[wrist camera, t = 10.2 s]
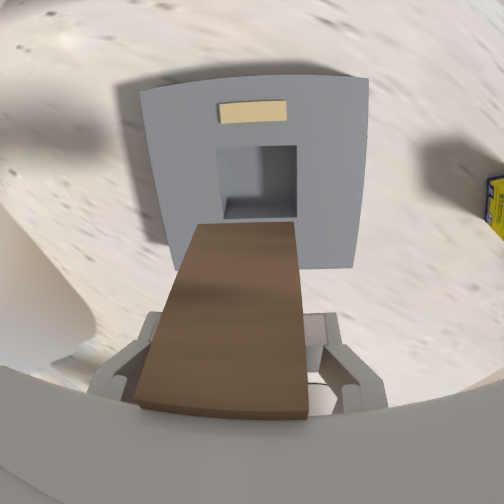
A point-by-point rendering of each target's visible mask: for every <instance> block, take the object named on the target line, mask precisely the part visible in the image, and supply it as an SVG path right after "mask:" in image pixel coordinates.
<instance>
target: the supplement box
mask: <svg viewBox="0 0 504 504" xmlns="http://www.w3.org/2000/svg"><path fill="white" fill-rule="evenodd" d="M485 222H486V223H487V224H488V225H489V226H490V227H491V228H492V229H493V230H494V231H495V232H496V233H497V234H498V235H499V236H500V238H501V239H502V240H503V241H504V176H500V177H495V178H491V179H487V202H486V212H485Z"/></svg>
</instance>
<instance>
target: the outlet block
mask: <svg viewBox="0 0 504 504" xmlns="http://www.w3.org/2000/svg"><path fill="white" fill-rule="evenodd" d="M139 94H140V102H141V108H142V115H143V121H144V128H145V134H146V140H147V145H148V151H149V156H150V162H151V167H152V172H153V177H154V182H155V187H156V192H157V196H158V201H159V206H160V210H161V215H162V219H163V223H164V227H165V232H166V236H167V240H168V244H169V248H170V252H171V256H172V260H173V264H174V267H175V271H179V268H180V266H181V263H182V261H183V258H184V256H185V254H186V251H187V249H188V246H189V244H190V241H191V239H192V237H193V234H194V232H195V230H196V227H197V225H198V224H214V223H246V222H294V228H295V237H296V246H297V255H298V265H299V269H338V268H353V262H354V256H355V250H356V243H357V236H358V229H359V221H360V213H361V205H362V195H363V186H364V175H365V162H366V148H367V130H368V97H369V79H368V78H360V77H349V76H334V75H308V74H279V75H253V76H238V77H227V78H217V79H208V80H200V81H193V82H186V83H179V84H173V85H168V86H162V87H157V88H152V89H147V90H143V91H139Z"/></svg>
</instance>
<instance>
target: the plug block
mask: <svg viewBox="0 0 504 504" xmlns="http://www.w3.org/2000/svg"><path fill="white" fill-rule="evenodd" d="M133 399H134V400H135V402H136V403H137V404H138V405H139V406H140V408H142V409H147V410H153V411H159V412H166V413H173V414H181V415H189V416H198V417H209V418H222V419H239V420H307V417H308V413H309V396H308V377H307V361H306V346H305V332H304V320H303V308H302V296H301V285H300V275H299V265H298V255H297V246H296V237H295V228H294V222H246V223H214V224H198V225H197V227H196V230H195V232H194V234H193V237H192V239H191V241H190V244H189V246H188V249H187V251H186V254H185V256H184V258H183V261H182V263H181V266H180V268H179V271H178V273H177V276H176V279H175V281H174V284H173V286H172V289H171V291H170V294H169V297H168V299H167V302H166V305H165V307H164V310H163V313H162V315H161V318H160V321H159V323H158V326H157V329H156V332H155V335H154V337H153V340H152V343H151V346H150V349H149V352H148V355H147V358H146V360H145V363H144V366H143V369H142V372H141V375H140V378H139V382H138V385H137V388H136V391H135V394H134V397H133Z"/></svg>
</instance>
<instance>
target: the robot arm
mask: <svg viewBox="0 0 504 504" xmlns="http://www.w3.org/2000/svg"><path fill="white" fill-rule="evenodd" d="M162 313H163V312H152V311H150V312H149V313H148V314H147V317H146V319H145V322H144V324H143V326H142V329H141V331H140V334H139V336H138V339H137V340H134V341H132V342H131V343H130V344H128V345H127V346H126V347H125V348H123V349H122V350H121V351H120V352H118V353H117V354H116V355H114V356H113V357H112V358H111V359H109V360H108V361H107V362H106V363H104V364H103V365H102V366H101V367H99V368H98V369H97V370H96V371H95V374H94V376H93V379H92V381H91V383H90V386H89V388H88V391H87V393H84V392H80V391H76V390H73V389H70V388H66V387H63V386H60V385H56V384H53V383H50V382H47V381H44V380H41V379H38V378H35V377H32V376H30V375H27V374H24V373H21V372H19V371H16V370H14V369H11V368H8V367H6V366H0V504H504V379H503V380H498V381H496V382H493V383H490V384H487V385H484V386H480V387H477V388H474V389H471V390H467V391H464V392H460V393H456V394H453V395H449V396H445V397H441V398H436V399H432V400H428V401H423V402H418V403H413V404H408V405H402V406H397V407H390V408H388V403H387V398H386V393H385V389H384V384H383V380H382V379H381V378H380V377H379V376H378V375H377V374H376V373H375V372H374V371H373V370H372V369H370V368H369V367H368V366H367V365H366V364H365V363H364V362H363V361H362V360H361V359H360V358H359V357H358V356H357V355H356V354H355V353H354V352H353V351H352V350H351V349H350V348H349V347H348V346H347V345H346V344H342V340H341V335H340V330H339V324H338V319H337V314H336V313H311V314H303V320H304V332H305V346H306V361H307V372H319V374H320V375H321V377H322V378H323V379H324V381H325V382H326V383H327V385H328V386H327V385H318V384H309V385H308V396H309V413H308V417H307V420H239V419H222V418H209V417H198V416H189V415H181V414H173V413H166V412H159V411H153V410H147V409H142V408H140V406H139V405H138V404H137V403H136V402H135V400H134V399H133V397H134V394H135V391H136V388H137V385H138V382H139V378H140V375H141V372H142V369H143V366H144V363H145V360H146V358H147V355H148V352H149V349H150V346H151V343H152V340H153V337H154V335H155V332H156V329H157V326H158V323H159V321H160V318H161V315H162Z"/></svg>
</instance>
